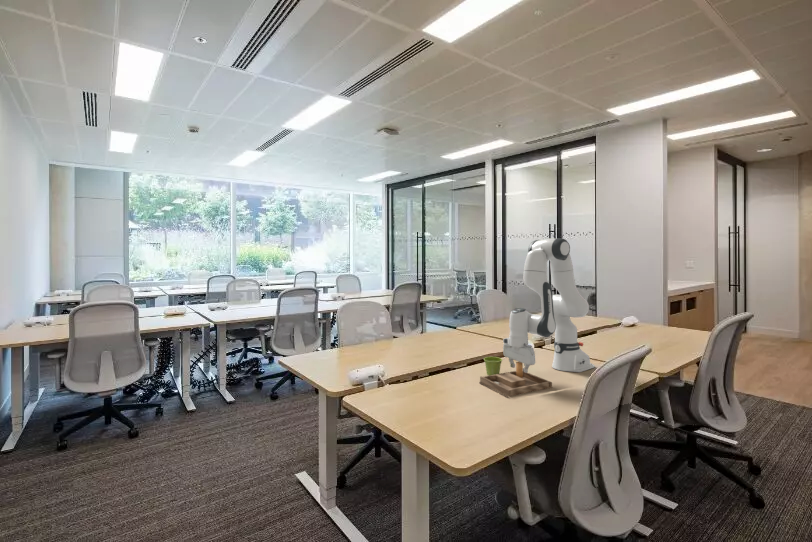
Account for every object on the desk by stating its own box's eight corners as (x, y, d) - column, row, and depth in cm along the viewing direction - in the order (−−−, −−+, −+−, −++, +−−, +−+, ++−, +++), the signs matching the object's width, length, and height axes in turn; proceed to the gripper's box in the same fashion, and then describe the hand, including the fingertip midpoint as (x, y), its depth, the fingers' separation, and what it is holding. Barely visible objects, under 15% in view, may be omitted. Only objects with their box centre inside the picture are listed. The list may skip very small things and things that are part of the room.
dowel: (520, 377, 198) (519, 361, 198) (524, 379, 195) (523, 362, 195) (515, 378, 197) (514, 362, 196) (519, 379, 194) (518, 363, 194)
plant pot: (501, 373, 208) (501, 356, 208) (503, 378, 199) (503, 361, 199) (483, 372, 209) (482, 356, 209) (484, 378, 200) (484, 361, 200)
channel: (521, 376, 203) (521, 369, 202) (552, 389, 182) (552, 382, 182) (479, 383, 193) (479, 376, 193) (507, 398, 173) (507, 390, 172)
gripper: (538, 345, 187) (538, 374, 187) (511, 337, 206) (511, 363, 206) (527, 346, 184) (527, 376, 185) (500, 338, 203) (501, 365, 204)
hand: (518, 369), depth 196 cm, fingers open, 8 cm apart
